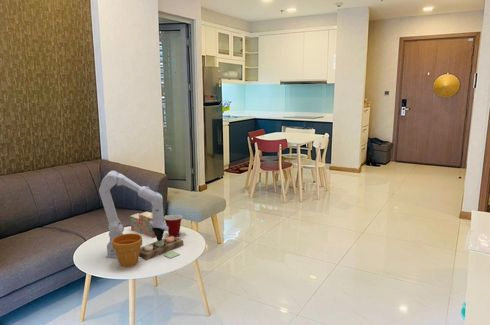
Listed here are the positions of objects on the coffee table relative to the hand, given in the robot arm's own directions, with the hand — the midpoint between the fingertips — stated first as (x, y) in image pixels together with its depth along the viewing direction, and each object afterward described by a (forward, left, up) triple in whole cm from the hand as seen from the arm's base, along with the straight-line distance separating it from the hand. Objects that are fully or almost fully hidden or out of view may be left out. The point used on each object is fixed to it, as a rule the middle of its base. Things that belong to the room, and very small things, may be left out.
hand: (159, 240), depth 199 cm
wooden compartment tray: (0, 0, -6) cm, 6 cm away
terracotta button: (+6, -3, -4) cm, 8 cm away
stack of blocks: (+22, +19, -6) cm, 30 cm away
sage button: (0, 0, -4) cm, 4 cm away
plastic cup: (+20, 0, -6) cm, 21 cm away
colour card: (-5, -9, -6) cm, 11 cm away
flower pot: (-17, +9, -6) cm, 20 cm away
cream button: (-6, +4, -4) cm, 8 cm away
